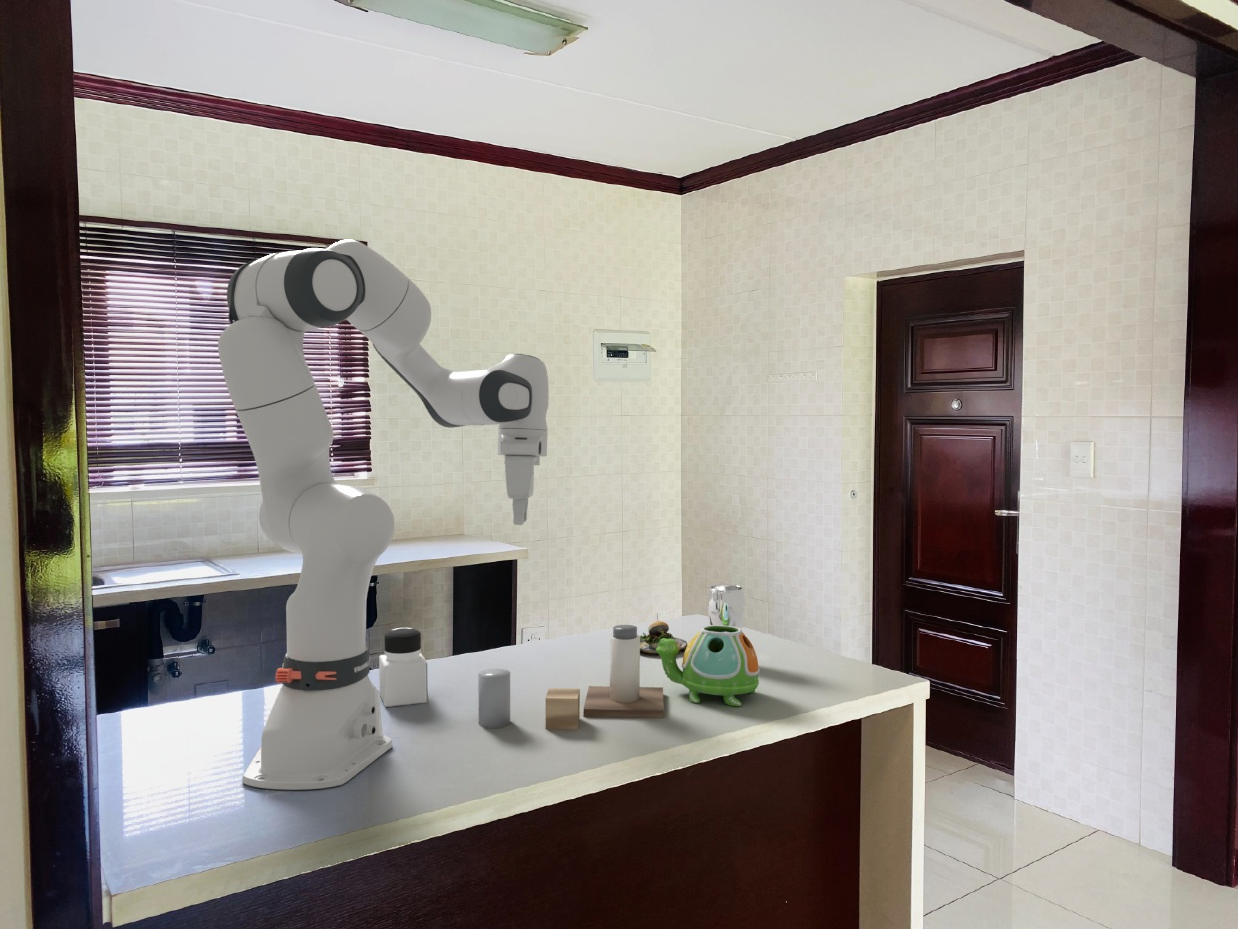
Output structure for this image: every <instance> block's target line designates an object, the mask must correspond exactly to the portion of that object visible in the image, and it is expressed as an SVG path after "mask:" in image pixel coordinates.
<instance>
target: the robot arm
mask: <svg viewBox="0 0 1238 929" xmlns="http://www.w3.org/2000/svg"><path fill="white" fill-rule="evenodd" d="M226 300H227V308H228V321H229V325H228V326H227V327H226V328H225V329H224V330H223V331H222V333H221V334H220V336H219V338H218V342H217V349H218V355H219V361H220V365H221V370H222V374H223V378H224V381H225V385H226V388H227V391H228V393H229V397H230V400H231V402H232V405H233V407H234V409H235V411H236V412H235V413H236V414H237V417H238V419H239V421H240V424H241V427H242V429H243V432H244V434H245V437H246V440H247V442H248V444H249V446H250V450H251V452H252V454H253V458H254V461H255V465H256V468H257V472H258V477H259V478H258V479H259V483H260V490H261V498H262V502H261V504H260V507H259V513H258V515H259V516H258V517H259V518H258V519H259V520H258V521H259V524H260V528H261V529H262V531H263V533H264V535H265V536H266V537H267V538H268V539H270V540H271V541H272V542H273V543H275V545H277V546H279V547H280V548H282V549H283V550H285V551H288V552H290V553H293V554H299V555H302V566H301V571H300V575H299V579H298V583H297V584H296V585H297V586H296V588H295V590H294V591H293V593H291V595H289V597H288V599H287V601H286V606H285V611H286V613H285V615H286V616H285V617H286V618H285V619H286V622H285V623H286V653H285V654H284V658H283V663H282V666H281V667H279V668H277V669H276V672H275V676H274V678H275V681H276V683H278V684H282V685H281V687H280V688H279V692H278V694H277V696H276V699H275V700H274V703H273V706H272V707H271V710H270V713H269V715H268V717H267V720H266V722H265V725H264V728H263V730H262V733H261V741H260V742H261V743H260V744H261V745H260V747H259V748H258V750H257V751H256V753H255V755H254V756H253V758H252V759H251V761H250V763H249V765H248V766H247V767H246V769H245V770H244V772H243V774H242V781H241V782H242V784H243V785H244V784H245V785H247V786H250V787H255V788H261V789H270V790H288V791H289V790H293V791H294V790H296V791H297V790H317V789H318V790H319V789H327V788H333V787H338V786H341V785H344V784H345V783H347V782H349V781H350V780H351V779H352V778H353V777H355V776H357V775H358V774H359V773H360V772H361V771H363V770H364V769H366V768H367V767H368V766H369V765H370V764H371V763H373V762H375V761H376V760H377V759H379V758H380V757H381V756H382V755H383V754H385V753H386V752H387V751H389V750H390V749H391V748H392V747H393V740H392V738H391V737H389V736H387V735H384V734H383V724H382V710H381V709H382V708H381V696H380V689H378V688H377V687H376V686H375V685H374V683H372V681H371V679H370V678H369V674H370V670H371V669H370V668H371V667H370V664H371V657H370V650H369V648H368V647H367V598H368V592H369V588H370V587H369V586H370V581H371V577H372V575H373V572H374V569H375V566H376V563H377V560H378V559H379V558H380V557H381V556H382V554H383V553H384V552H385V551H386V550H387V549H388V548H389V545H390V544H391V542H392V540H393V537H394V534H395V518H394V515H393V511H392V509H391V508H390V506H389V504H388V503H387V502H386V501H385V499H383V498H382V497H380V496H378V495H376V494H374V493H372V492H371V491H369V490H367V489H365V488H362V487H360V486H355V485H346V484H339V483H337V481H336V480H335V478H334V476H333V473H332V469H331V461H330V447H331V446H332V443H333V441H334V429H333V427H332V424H331V422H330V418H329V417H328V414H327V412H326V411H327V410H326V409H325V406H324V404H323V400H322V398H321V395H320V392H319V390H318V387H317V385H316V383H315V379H314V377H313V375H312V372H311V369H310V368H309V365H308V364H307V361H306V359H305V353H304V337H305V332H310V331H314V330H318V329H321V328H322V329H323V328H330V327H333V326H336V325H338V324H340V323H342V322H344V321H345V320H347V321H348V323H350V324H351V325H352V326H353V327H354V328H355V329H356V330H357V331H359V332H360V333H361V334H362V335H363V336H365V338H367V339H368V340H369V341H370V343H372V346H373V348H374V349H375V351H376V353H377V354H378V355H379V357H381V359H382V360H383V361H384V362H385V363H386V364H387V365H388V366H389V367H390V368H391V369H392V370H393V372H395V374H397V375H398V376H399V377H400V379H402V380H403V381H404V382H405V383H406V385H408V386H409V387H410V388H411V389H412V390H413V392H415V394H416V395H417V396H418V397H419V398H420V401H422V404H423V405H424V407H425V409H426V410H427V412H428V414H429V416H430V417H431V418H432V419H433V421H434V422H435V423H437V424H438V425H439V426H442V427H445V428H448V429H450V428H459V427H465V426H466V427H467V426H485V425H486V426H490V425H493V426H494V425H498V428H497V430H498V434H497V455H498V456H504V462H503V463H504V471H505V473H504V474H505V486H506V494H507V497H508V499H512V512H513V513H512V514H513V521H512V522H513V525H515V526H522V525H524V524H525V522H527V520H528V519H527V518H528V517H527V516H528V506H529V498H531V497H532V496H533V494H534V486H535V485H534V483H535V482H534V480H535V476H534V474H535V466H540V463H541V462H540V461H541V460H540V458H541V457H547V456H548V424H547V420H546V419H547V417H546V416H547V413H548V409H549V399H550V398H549V394H550V392H549V387H550V386H549V375H548V370H547V367H546V364H545V362H544V361H542V360H541V359H540V358H538V357H536V356H533V355H528V354H523V353H512V354H507V355H506V356H505V357H504V359H503V360H502V361H501V362H499V363H497V364H494V365H492V366H489V367H486V368H483V369H473V370H472V369H471V370H454V369H453V370H452V369H448V368H446V367H445V368H444V367H442V366H441V365H440V364H439V363H438V362H437V361H436V360H435V359H434V358H433V357H432V356H431V355H430V353H428V351H427V350H426V349H425V348H424V347H423V346H422V345H421V343H422V341H423V340H424V339H425V337H426V335H427V333H428V330H429V329H430V325H431V322H432V310H431V309H432V307H431V304H430V301H429V300H428V299H427V297H426V296H425V294H424V293H423V291H422V290H421V289H420V288H419V286H417V285H416V283H414V282H413V281H412V280H411V279H410V277H408V276H407V275H406V274H405V273H403V271H401V270H400V269H399V268H398V267H397V266H395V265H394V264H393V263H391V262H390V261H389V260H387V258H385V257H384V256H383V255H381V254H379V253H378V252H376V251H375V250H374V249H372V248H371V247H369V246H367V245H366V244H364V243H362V242H361V241H358V240H354V239H342V240H339V241H338V242H335V243H333V244H331V245H330V246H329V247H327V248H319V247H311V248H306V249H303V250H294V251H279V252H275V253H273V254H269V255H266V256H264V257H261V258H256V259H252V260H249V261H248V262H247V261H246V263H244V264H242V265H241V266H239V268H237V269H236V270H235V271H234V273H232V275H231V277H230V279H229V280H228V284H227V289H226Z"/></svg>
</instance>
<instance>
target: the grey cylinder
mask: <svg viewBox="0 0 1238 929" xmlns="http://www.w3.org/2000/svg"><path fill="white" fill-rule="evenodd" d="M477 676H478V679H477V680H478V691H477V692H478V725H479V726H480V727H481V728H486V729H499V728H504V727H507V726H508V725H510V724H511V671H509V670H508V669H504V668H489V669H484V670H481V671H479V672H478V675H477Z"/></svg>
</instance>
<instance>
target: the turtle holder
mask: <svg viewBox="0 0 1238 929" xmlns="http://www.w3.org/2000/svg"><path fill="white" fill-rule="evenodd" d="M742 629H743V628H742ZM742 629H741V628H738V627H733V626H724V625H710V624H709V625H708V624H707V625H705V626H703V627H701V628H700V631H699V632H698V633H697V634H695V635H694V637H692V638H691V640H690V641H689V642H688V643H687V648H686V649H684V654H683V657H682V663H681V668H682V670H681V669H680V667H679V666H678V662H677V658H678V657H677V656H678V655H679V652H680V650H679V648H678V646H677V643H676V641H675V640H674V639H665V638H662V639H661V640H660V642H659V644H658V648H656V651H657V653H656V654H658V656H659V657H660V658H661V664H662V668H663V671H664V675H666V677H667V678H668V679H669V680H670V682H673V683H676V684H679V685H683V686H684V687H685V688H686V689H688V690H689V691H688V698H689V701H690V702H691V703H693V704H694V703H695V704H699V703H701V698H700V697H699V693H702V694H708V695H713V696H723V697H722V698H723V701H724V703H725V704H726V705H727V706H731V707H740V706H742V702H741V701H740V700H739V699H738V698H736V696H737V695H744V694H755V693H756V689H758V686H759V683H760V680H759V674H760V671H761V670H760V669H761V668H760V666H759V659H758V657H757V656H758V655H757V654H756V650H755V648H754V645H753V644H752V642H751V640H750V639H749V638H748V637H747V635H746V634H745V633H744V632H743V630H742ZM722 632H729V633H722ZM735 695H736V696H735Z"/></svg>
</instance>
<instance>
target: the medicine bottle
mask: <svg viewBox="0 0 1238 929" xmlns="http://www.w3.org/2000/svg"><path fill="white" fill-rule="evenodd" d="M421 634H422V633H421V632H420V630H418V629H416V628H413V627H398V628H393V629H391V630H390V629H389V631H386V633H385V634H384V635H383V636H384V654H380V655H379V658H378V662H379V664H378V666H379V667H378V668H379V669H378V670H379V677H378V678H379V694H380V699H381V700H382V703H383V705H384V707H385V708H391V707H401V706H409V705H416V704H417V705H418V704H425V703H426V704H427V702H428V699H429V698H428V661H427V660H426V658H425V656H423V654H422V651H421V650H422V635H421Z"/></svg>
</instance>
